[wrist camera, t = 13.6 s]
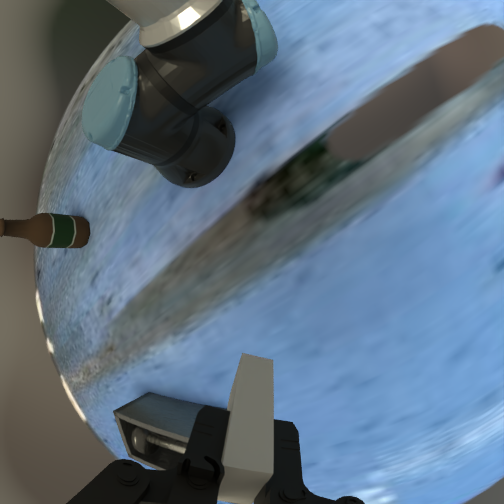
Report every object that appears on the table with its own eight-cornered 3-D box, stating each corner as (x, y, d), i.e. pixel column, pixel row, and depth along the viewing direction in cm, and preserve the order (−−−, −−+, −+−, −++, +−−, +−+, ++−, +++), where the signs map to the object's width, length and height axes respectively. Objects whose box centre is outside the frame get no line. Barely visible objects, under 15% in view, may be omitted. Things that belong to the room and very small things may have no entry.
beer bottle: (92, 217, 58) (4, 207, 36) (89, 249, 58) (1, 248, 36) (76, 216, 61) (-4, 208, 39) (74, 246, 61) (-7, 245, 39)
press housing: (231, 409, 44) (199, 440, 34) (238, 456, 44) (211, 489, 33) (148, 392, 52) (113, 410, 41) (159, 435, 51) (128, 456, 41)
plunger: (235, 431, 39) (213, 457, 32) (241, 463, 39) (220, 489, 32) (153, 411, 46) (127, 427, 39) (162, 441, 46) (138, 459, 38)
